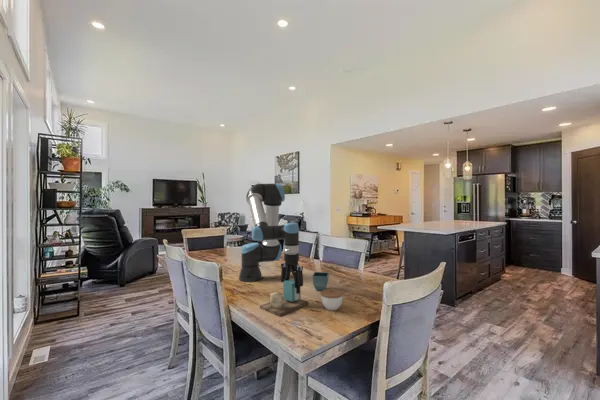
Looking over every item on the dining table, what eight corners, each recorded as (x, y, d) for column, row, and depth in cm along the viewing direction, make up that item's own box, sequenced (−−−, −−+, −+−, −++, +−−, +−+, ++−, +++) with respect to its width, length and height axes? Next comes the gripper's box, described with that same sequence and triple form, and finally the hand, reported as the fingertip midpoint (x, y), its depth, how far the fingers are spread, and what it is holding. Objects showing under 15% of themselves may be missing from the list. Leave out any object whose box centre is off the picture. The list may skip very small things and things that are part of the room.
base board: (259, 308, 143) (259, 305, 143) (288, 298, 158) (288, 295, 158) (279, 316, 133) (279, 313, 133) (308, 304, 148) (308, 301, 148)
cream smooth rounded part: (268, 309, 141) (267, 294, 141) (276, 306, 145) (276, 291, 145) (276, 312, 138) (275, 297, 137) (284, 309, 142) (284, 294, 142)
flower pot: (327, 292, 167) (327, 276, 167) (312, 291, 168) (312, 275, 168) (329, 287, 175) (328, 272, 175) (314, 286, 177) (314, 271, 177)
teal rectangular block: (283, 298, 149) (283, 281, 149) (291, 295, 154) (291, 278, 154) (292, 301, 145) (291, 283, 145) (300, 298, 150) (300, 280, 150)
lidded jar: (319, 304, 148) (319, 286, 148) (340, 303, 149) (340, 285, 149) (322, 312, 137) (322, 292, 137) (345, 311, 138) (345, 292, 138)
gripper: (273, 251, 153) (273, 295, 153) (300, 256, 140) (300, 304, 140) (283, 249, 159) (284, 292, 159) (310, 254, 146) (311, 300, 146)
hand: (292, 297), depth 150 cm, fingers closed on teal rectangular block, 6 cm apart
